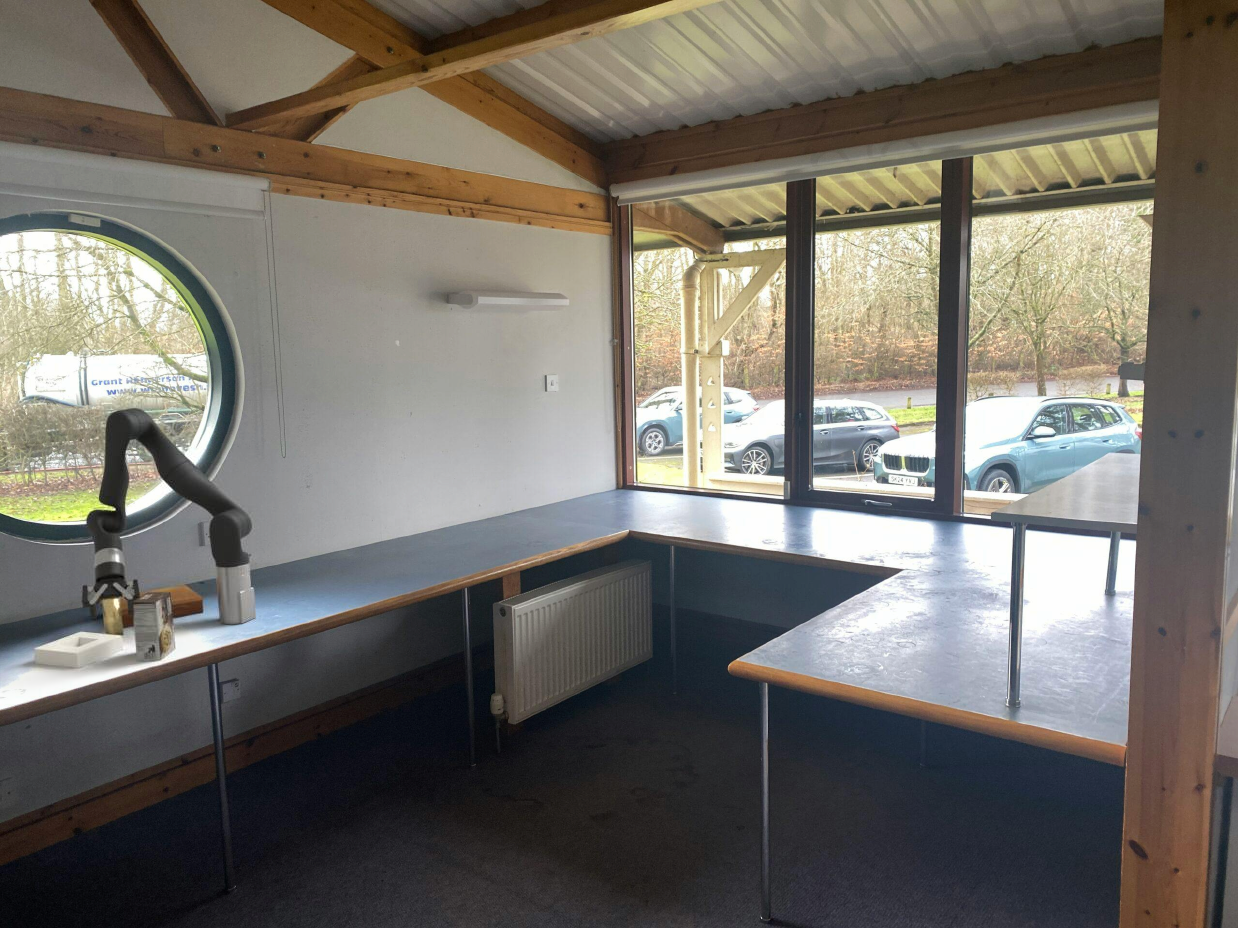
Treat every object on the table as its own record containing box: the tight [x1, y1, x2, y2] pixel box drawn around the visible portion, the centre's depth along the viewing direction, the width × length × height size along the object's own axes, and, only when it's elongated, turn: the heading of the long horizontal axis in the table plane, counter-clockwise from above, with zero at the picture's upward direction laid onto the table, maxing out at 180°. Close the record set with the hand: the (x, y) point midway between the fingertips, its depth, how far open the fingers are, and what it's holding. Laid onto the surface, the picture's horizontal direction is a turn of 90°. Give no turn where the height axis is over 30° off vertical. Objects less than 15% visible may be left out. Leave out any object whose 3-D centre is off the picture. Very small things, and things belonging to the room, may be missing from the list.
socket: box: [33, 631, 124, 669], centre depth 229 cm, size 14×14×4 cm
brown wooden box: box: [120, 584, 204, 629], centre depth 266 cm, size 23×19×6 cm
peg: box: [101, 596, 125, 637], centre depth 245 cm, size 4×4×11 cm
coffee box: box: [132, 592, 176, 662], centre depth 229 cm, size 9×6×16 cm
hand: (112, 615), depth 244 cm, fingers open, 8 cm apart
